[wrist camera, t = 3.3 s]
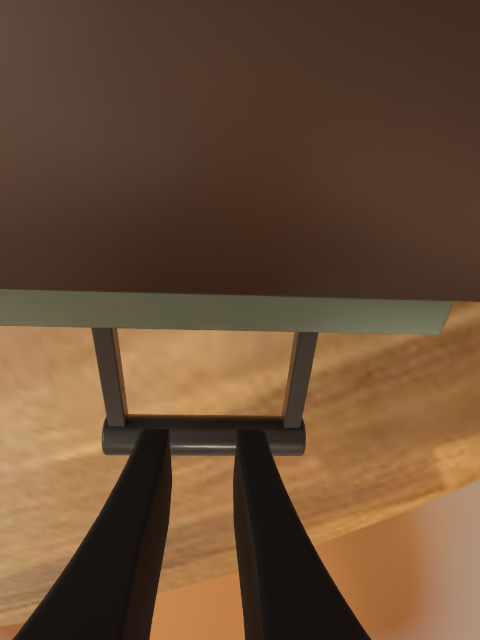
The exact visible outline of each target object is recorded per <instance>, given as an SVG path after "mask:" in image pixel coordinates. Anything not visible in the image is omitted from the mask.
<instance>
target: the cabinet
mask: <svg viewBox="0 0 480 640" xmlns="http://www.w3.org/2000/svg"><path fill="white" fill-rule="evenodd" d="M0 289H12V290H51V291H90V292H128V293H167V294H205V295H244V296H283V297H321V298H360V299H399V300H437V301H476V302H480V0H0Z"/></svg>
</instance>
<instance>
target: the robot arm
mask: <svg viewBox="0 0 480 640" xmlns="http://www.w3.org/2000/svg"><path fill="white" fill-rule="evenodd" d="M171 489H172V470H171V452H170V434H169V429H143V430H142V431H140V432H139V435H138V438H137V440H136V443H135V445H134V448H133V450H132V452H131V455H130V457H129V459H128V461H127V463H126V465H125V467H124V469H123V471H122V473H121V475H120V477H119V479H118V481H117V483H116V485H115V487H114V489H113V490H112V492H111V494H110V496H109V498H108V499H107V501H106V503H105V505H104V507H103V509H102V510H101V512H100V514H99V516H98V517H97V519H96V520H95V522H94V524H93V525H92V527H91V529H90V530H89V532H88V533H87V535H86V537H85V538H84V540H83V541H82V543H81V545H80V546H79V548H78V550H77V551H76V553H75V554H74V556H73V557H72V559H71V560H70V562H69V563H68V565H67V566H66V568H65V569H64V571H63V572H62V574H61V575H60V576H59V578H58V579H57V581H56V582H55V584H54V585H53V586H52V588H51V589H50V591H49V592H48V593H47V595H46V596H45V598H44V599H43V600H42V602H41V603H40V604H39V606H38V607H37V608H36V610H35V611H34V612H33V614H32V615H31V616H30V617H29V619H28V620H27V621H26V623H25V624H24V625H23V627H22V628H21V629H20V631H19V632H18V633H17V635H16V636H15V637H14V638H13V640H149V638H150V630H151V624H152V617H153V612H154V606H155V600H156V594H157V589H158V583H159V577H160V571H161V566H162V560H163V554H164V548H165V542H166V537H167V531H168V525H169V515H170V502H171ZM233 504H234V530H235V539H236V549H237V559H238V568H239V577H240V588H241V596H242V607H243V616H244V629H245V640H371V638H370V637H369V636H368V634H367V633H366V631H365V630H364V629H363V627H362V626H361V624H360V623H359V621H358V620H357V618H356V616H355V615H354V613H353V612H352V610H351V609H350V607H349V606H348V604H347V603H346V601H345V599H344V598H343V596H342V595H341V593H340V591H339V590H338V588H337V586H336V585H335V583H334V582H333V580H332V578H331V576H330V575H329V573H328V571H327V570H326V568H325V566H324V564H323V563H322V561H321V559H320V557H319V556H318V554H317V552H316V550H315V548H314V546H313V544H312V543H311V541H310V539H309V537H308V535H307V533H306V531H305V529H304V527H303V525H302V523H301V521H300V519H299V517H298V515H297V513H296V511H295V509H294V506H293V504H292V502H291V500H290V498H289V496H288V494H287V491H286V489H285V487H284V484H283V482H282V480H281V477H280V475H279V472H278V470H277V467H276V464H275V462H274V459H273V456H272V453H271V450H270V447H269V444H268V440H267V437H266V433H265V432H264V431H263V430H254V429H237V436H236V450H235V463H234V477H233Z"/></svg>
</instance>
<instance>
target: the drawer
mask: <svg viewBox="0 0 480 640" xmlns="http://www.w3.org/2000/svg"><path fill="white" fill-rule="evenodd" d="M452 304H453V301H437V300H399V299H360V298H321V297H283V296H244V295H205V294H167V293H128V292H90V291H51V290H12V289H0V326H42V327H89V328H92V334H93V339H94V345H95V351H96V357H97V363H98V369H99V374H100V380H101V386H102V392H103V398H104V404H105V410H106V415H107V416H106V418H105V421H104V425H103V430H102V449H103V453H104V454H105V455H131V452H132V450H133V448H134V445H135V443H136V440H137V438H138V435H139V432H140V431H142V430H143V429H169V434H170V452H171V455H206V456H235V450H236V436H237V429H254V430H263V431H264V432H265V433H266V437H267V440H268V444H269V447H270V450H271V453H272V456H301V455H303V454H304V451H305V445H306V432H305V424H304V420H303V418H302V415H303V410H304V405H305V400H306V394H307V389H308V384H309V379H310V374H311V368H312V363H313V358H314V353H315V348H316V342H317V337H318V332H326V333H374V334H421V335H440V334H441V332H442V330H443V327H444V325H445V322H446V319H447V317H448V314H449V312H450V309H451V307H452ZM117 328H137V329H184V330H232V331H279V332H295V334H294V341H293V347H292V354H291V360H290V367H289V373H288V380H287V386H286V393H285V399H284V406H283V412H282V416H250V415H146V414H128V409H127V402H126V394H125V386H124V379H123V371H122V363H121V356H120V348H119V340H118V333H117Z"/></svg>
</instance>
